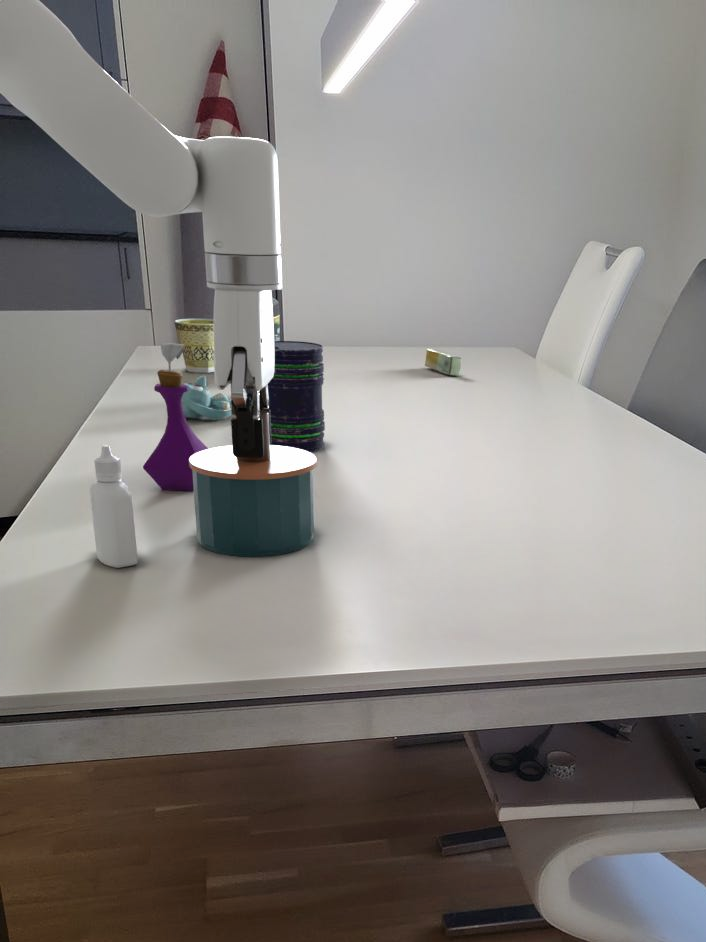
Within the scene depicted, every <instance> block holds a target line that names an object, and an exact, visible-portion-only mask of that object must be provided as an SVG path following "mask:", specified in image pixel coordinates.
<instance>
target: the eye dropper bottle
mask: <svg viewBox="0 0 706 942" xmlns="http://www.w3.org/2000/svg"><path fill="white" fill-rule="evenodd" d="M100 452H101V453H100V456H99V457H97V458H95V459H94V460H93V461H94V471H95V478H96V479H95V480H96V481H94V482H93V483H92V484H91V486H90V488H89V495H90V502H91V503H90V506H91V514H92V515H91V516H92V525H93V534H94V543H95V551H96V552H95V553H96V557H97V559H98V561H100V562H101V564H104V565H106V566H108V567H111V568H115V569H118V568H119V569H120V568H126V567H127V568H128V567H131V566H135V565H137V564H138V561H139V560H138V559H139V558H138V547H137V537H136V527H135V526H136V525H135V517H134V516H135V515H134V507H133V498H132V493H131V492H132V491H131V490H130V488H129V486H127V484H126V483H125V482H124V481H123V480H122V479H123V478H122V477H123V476H122V465H121V459H120V458H119V457H117V456H115V455H114V454H113V453H112V450H111V446H110V445H109V444H103V445H101V451H100Z"/></svg>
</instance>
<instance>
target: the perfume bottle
mask: <svg viewBox="0 0 706 942" xmlns="http://www.w3.org/2000/svg"><path fill="white" fill-rule="evenodd" d="M183 348H184V345H183V344H180V343H175V342H169V343H168V342H167V343H162V344H160V351H161V354H162V356H163V358H164V359H165V360H166V362H167V364H168V369H160V370H158V371H157V372H156V373H157V377H158V380H159V383H156V384H155V385H154V388H153V390H154V392H156V393H159V394H160V396H161V397H162V399H163V400H164V402H165V406H166V413H167V414H166V416H167V417H166V418H167V421H166V426H165V430H164V433H163V435H162V436H161V438H160V440H159V442H158V444H157V446H156V447H155V449H154V450H153V452H152V453H151V454H150V455H149V457H148V458H147V460H146V461H145V462H144V464H143V465H142V468H143V470H144V471H145V472H146V474H148V475H149V476H150V478H151V479H152V480H153V481H154V482H155V483H156V484H157V486H158V487H159V488H160V489H161V490H164V491H181V492H185V491H186V492H194V486H193V472H192V469H191V468H190V466H189V458H190V457H191V456H192V455H193V454H195V453H197V452H200V451H203V450H207V449H209V448H208V447H207V446H206V445H205V443H203V442H202V441H201V439H200V438H199V437H198V436H197V435H196V434H195V433H194V431H192V428H191V427H190V425H189V424H188V422H187V418H186V417H185V416H184V412H183V408H182V401H181V399H182V396H183V394H184V392H187V391H188V386H187V385H185V384H186V383H183V374H182V373H181V372H179V371H177V370H172V368H171V367H172V366H171V364H172V362H173V361H174V360H175V359H177V360H179V359H180V358H181V355H183V353H182V351H183Z"/></svg>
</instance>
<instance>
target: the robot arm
mask: <svg viewBox="0 0 706 942" xmlns="http://www.w3.org/2000/svg"><path fill="white" fill-rule="evenodd" d="M0 95H2V96H3V97H4V98H5V99H6V100H7V102H9V104H11V105H12V106H13V107H14V108H15V109H17V110H18V111H19V112H21V113H22V114H24V115H25V116H26V117H28V118H29V120H31V121H33V122H34V123H35V124H36V126H38V127H39V128H40V129H42V130H43V131H44V132H45V133H46V134H47V135H48V136H49V137H50V138H51V139H52V140H53V141H54V142H56V143H57V145H59V146H60V147H61V148H62V149H63V150H65V151H66V153H68V154H69V155H70V156H71V157H72V158H73V159H74V160H75V161H77V162H78V163H79V164H80V165H81V166H82V167H84V168H85V169H86V170H87V171H88V172H89V173H90V174H91V175H92V176H93V177H95V178H96V179H97V180H98V181H99V182H100V183H101V184H102V185H104V186H105V187H106V188H107V189H108V190H110V191H111V192H112V194H114V195H115V197H117V198H118V199H119V200H121V201H122V202H123V203H124V204H126V205H127V206H128V207H129V208H131V209H132V210H134V211H136V212H138V213H139V214H142V215H144V216H148V217H152V218H164V217H165V218H166V217H170V216H175V215H181V214H189V213H192V214H193V213H201V214H202V233H203V246H204V247H203V248H204V260H205V261H204V262H205V276H206V277H205V278H206V288H208V289H213V290H214V297H213V319H214V372H213V373H214V385H215V387H216V388H217V389H218V390H219V391H221V390H222V391H223V390H225V389H226V388H227V387H228V386H229V385H230V400H231V408H230V410H231V416H230V417H231V418H230V427H231V428H230V429H231V446H232V447H233V455H234V456H235V457H252V458H261V457H263V455H264V438H263V419H259V417H260V410H265V411H267V412H268V413H269V433H270V445H271V417H270V410H268V409H269V395H268V383H269V382H270V381H271V379H272V378H273V376H274V369H275V347H274V322H273V304H272V297H273V291H276V290H277V291H279V290H282V289H283V275H282V274H283V271H282V255H281V254H282V246H281V245H282V244H281V218H280V217H281V215H280V187H279V186H280V185H279V162H278V155H277V152H276V151H277V150H276V148H275V147H274V145H273V144H272V143H270V141H267V140H264V139H260V138H254V137H253V138H252V137H239V136H237V137H236V136H212V137H208V138H206V139H205V140H203V139H195V138H188V137H184V136H183V137H182V136H178V135H175V134H173V133H172V132H171V131H170V130H168V128H167V127H165V126H164V125H163V124H162V123H161V122H160V121H159V120H158V119H157V118H155V116H153V115H152V114H151V113H150V112H149V111H148V110H147V109H146V108H145V107H144V106H143V105H141V104H140V103H139V102H138V100H137V99H135V98H134V97H133V96H132V95H131V94H130V93H129V92H128V91H127V90H126V89H125V88H124V87H122V86H121V85H120V84H119V83H118V82H117V81H116V80H115V79H114V78H113V77H112V76H111V75H110V74H109V73H108V72H107V71H106V70H105V69H104V68H103V67H102V66H101V65H100V64H99V63H98V62H97V61H96V60H95V59H94V58H93V57H92V56H91V55H90V54H89V53H88V52H87V51H86V50H85V48H84V47H83V46H82V45H81V43H80V42H79V41H78V39H76V37H75V36H74V34H73V32H72V31H71V30H70V28H68V27H67V26H66V25H65V24H64V23H63V21H61V19H60V18H58V16H57V15H56V14H55V13H54V12H53V11H52V10H50V9H49V8H48V7H47V6H46V5H45V4H44V3H43V2H42V1H40V0H0Z"/></svg>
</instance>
